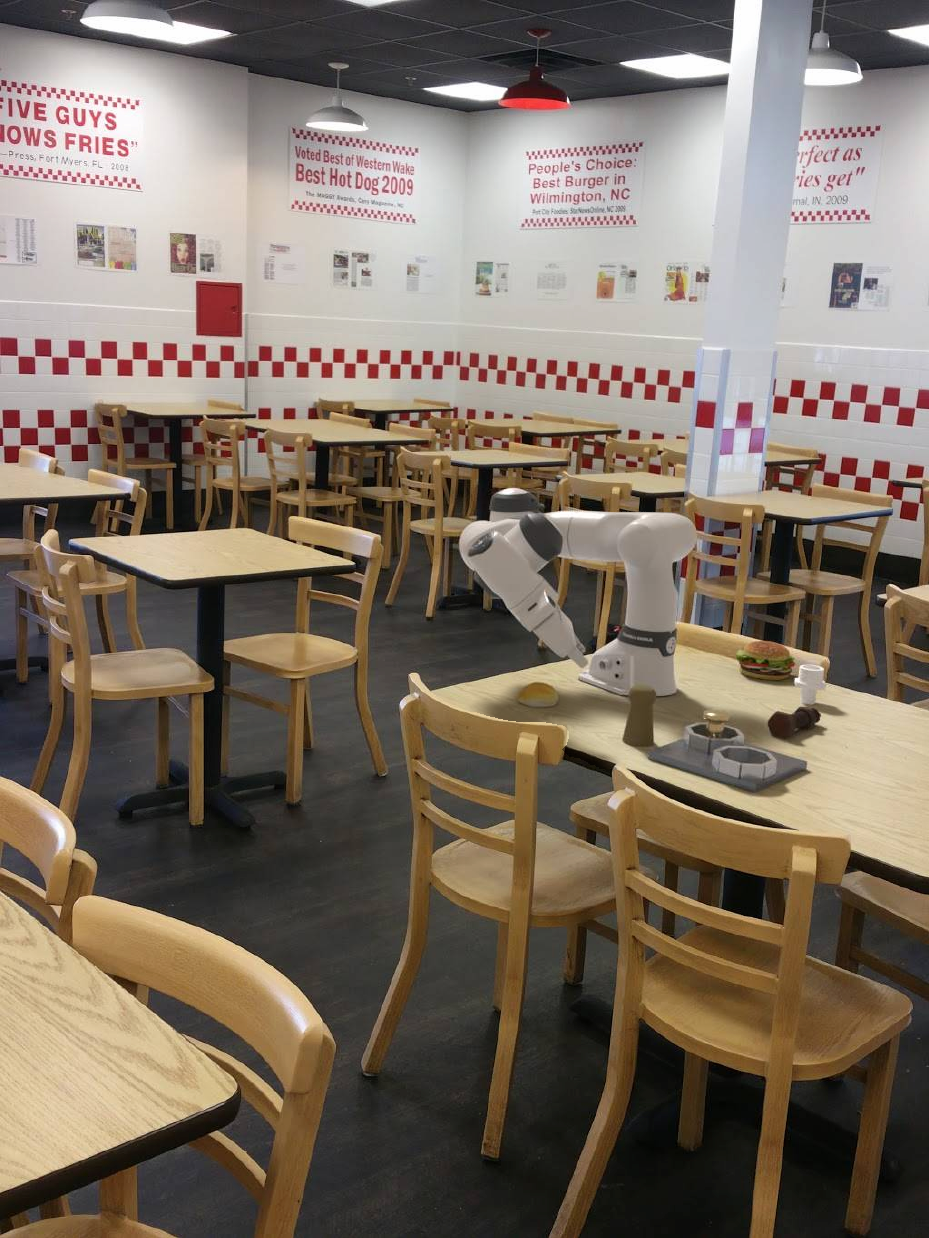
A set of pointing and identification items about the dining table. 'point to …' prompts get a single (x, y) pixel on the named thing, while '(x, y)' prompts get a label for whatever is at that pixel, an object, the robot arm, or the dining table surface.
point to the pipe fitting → (810, 682)
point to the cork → (640, 717)
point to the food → (765, 660)
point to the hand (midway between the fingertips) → (583, 658)
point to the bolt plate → (726, 755)
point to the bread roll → (538, 695)
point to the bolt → (792, 721)
